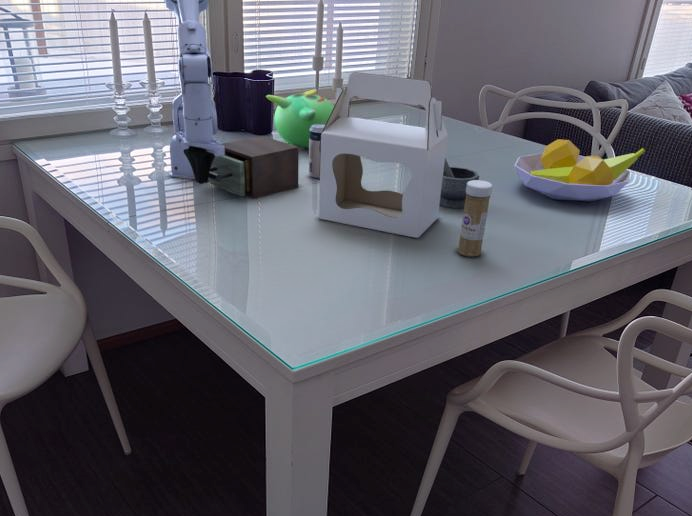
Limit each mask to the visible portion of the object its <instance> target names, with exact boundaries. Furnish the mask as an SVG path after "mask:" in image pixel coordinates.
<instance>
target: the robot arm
mask: <svg viewBox="0 0 692 516" xmlns="http://www.w3.org/2000/svg"><path fill="white" fill-rule="evenodd" d="M163 1H164V3H165V8H166V9H168V10H170V11H172V12H173V13H174V15H175V18H176V21H177V24H178V27H177V29H176V35H177V37H176V38H177V49H178V57H177V68H178V69H177V71H178V73H177V74H178V81H179V84H180V90H181V91H180V93H179V94H178V95H177V96H176V97H175V98H174V99H173V101H172V122H173V132H174V135H173V136H172V138H171V139H170V143H169V156H170V170H171V173H170V177H174V178H181V179H188V180H195V182H196V184H198V185H202V184H206V183H209V178H208V177H209V172H210V168H211V165H212V162H213V160H214V158H215V156H217V157H218V156H222V155H225V148H224V145H221V144H222V143H220V141H218V140H216V139H215V138H214V136H216V135H217V133H218V115H217V109H216V102H215V100H214V99H213V97H212V87H211V86H212V84H213V80H214V79H213V78H214V77H213V74H214V73H213V61H212V57H211V54H210V49H208V42H207V40H208V39H207V32H206V29H205V27H204V26H203V25H202V24H201V23H200V22H199V21H200V14H201V13H202V12H204V11H205V10H207V9H208V7H209V4H210V0H163ZM209 82H210V83H209Z"/></svg>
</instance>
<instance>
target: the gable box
mask: <svg viewBox="0 0 692 516" xmlns="http://www.w3.org/2000/svg"><path fill="white" fill-rule="evenodd" d="M432 91H433V86H432V85H431V82H430V81H429V80H426V79H418V78H410V77H400V76H392V75H383V74H374V73H366V72H359V71H353V72H351V73H350V74H349V75H348V81H347V86H344V88H343V87H336V91H335V99H334V100H335V101H334V105H333V106H334V108H333V110H332V112H331V114H330V116H329V118H328V121H327V123H326V125H325V127H324V129H323V131H322V133H321V162H320V179H319V194H318V195H319V197H318V198H319V199H318V219H319V220H324V221H328V222H332V223H333V222H334V223H338V224H343V225H349V226H354V227H359V228H363V229H368V230H373V231H379V232H383V233H389V234H394V235H399V236H403V237H409V238H414V239H419V238H420V237H421V236H422V235H423V233H425V232H426V231H427V230H428V229H429V228H430V227H431V226H432V224H433V223H434V222H436V221H437V219H438V218H439V210H440V195H441V187H442V179H443V171H444V163H445V158H446V153H447V146H448V137H449V134H448V131H447V129H446V126H445V123H444V119H443V100H440V99H439V100H436V97H433V95H432ZM353 98H354V99H357V100H358V99H365V100H373V101H380V102H389V103H396V104H403V105H411V106H417V107H419V108H424V110H425V112H426V116H425V117H426V118H425V125H424V127H423V126H422V127H421V126H416V125H407V124H402V123H394V122H387V121H380V120H373V119H366V118H359V117H352V116H351V117H350V104H351V100H353ZM338 116H339V117H338ZM337 119H338V120H337ZM361 157H362V158H363V159H367V160H370V161H372V162H376V163H393V164H400V165H403V166H405V167H406V168H408V169H409V170H410V173H411V175H410V180H409V182H408V183H407V185H406V187H405V189H404V192H403V194H402V193H400V192H398V191H394V190H393V191H392V190H388V189H387V190H367V189H365V188H364V187H363V186H362V180H363V179H362V178H363V174H364V168H363V164H362V163H363V162H362V159H361Z"/></svg>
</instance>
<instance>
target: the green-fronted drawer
mask: <svg viewBox="0 0 692 516" xmlns="http://www.w3.org/2000/svg"><path fill="white" fill-rule="evenodd" d="M208 178H209V180H208V183H209V184H210V185H212V186H214V187H217V188H219V189H221V190H224V191H227V192H229V193H232V194H234V195H237V196H239V197H244V196H246V195H245V191H247V192H249V191H251V183H250V160H249V159H246V158H243V157H240V156H238V155H235V154H232V153H229V152H226V151H225V155H222V156H218V157H217V156H215V158H214V160H213V162H212V165H211V168H210V172H209V177H208Z"/></svg>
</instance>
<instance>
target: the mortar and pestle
mask: <svg viewBox="0 0 692 516" xmlns="http://www.w3.org/2000/svg"><path fill="white" fill-rule="evenodd" d="M479 178H480V175H479V173H478V171H475V170H473V169H470V168H467V167H461V166H460V167H459V166H450V164H449V163H448V160H447V159H446V157H445V163H444V171H443V179H442V187H441V195H440V203H439V205H440V206H443V207H445V208H451V209H458V208H459V209H460V208H461V209H463V208H464V207H465V201H466V187H467V183H468V182H469V181H472V180H480V179H479Z"/></svg>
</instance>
